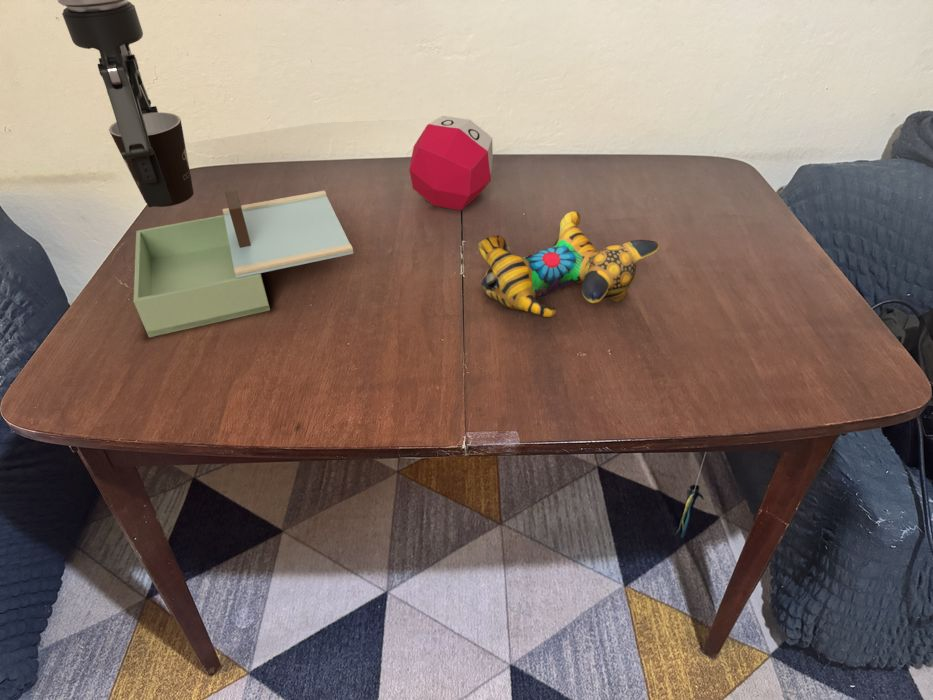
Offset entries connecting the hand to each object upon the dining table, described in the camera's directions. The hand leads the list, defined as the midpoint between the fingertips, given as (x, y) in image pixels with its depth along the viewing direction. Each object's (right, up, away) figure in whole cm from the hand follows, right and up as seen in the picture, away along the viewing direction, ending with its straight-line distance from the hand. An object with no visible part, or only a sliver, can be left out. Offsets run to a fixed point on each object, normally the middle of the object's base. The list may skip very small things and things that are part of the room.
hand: (159, 184), depth 85 cm
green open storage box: (+2, -13, +11) cm, 17 cm away
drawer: (+14, -5, +11) cm, 18 cm away
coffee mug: (0, -2, +2) cm, 3 cm away
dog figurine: (+54, -15, +7) cm, 57 cm away
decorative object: (+39, +5, +31) cm, 50 cm away
